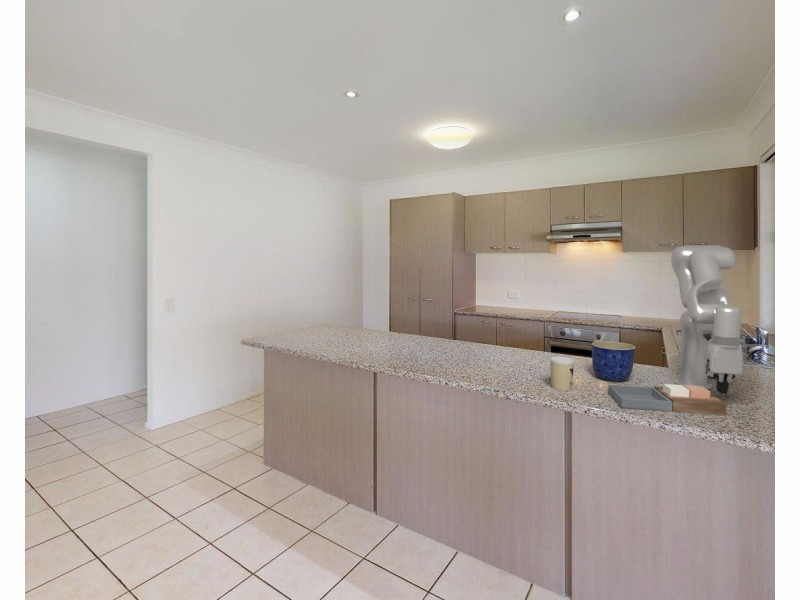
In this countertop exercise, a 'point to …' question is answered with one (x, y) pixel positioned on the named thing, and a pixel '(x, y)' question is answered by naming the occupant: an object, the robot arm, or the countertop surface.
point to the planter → (612, 360)
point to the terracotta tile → (698, 391)
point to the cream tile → (676, 390)
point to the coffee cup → (561, 372)
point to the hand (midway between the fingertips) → (722, 392)
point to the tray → (639, 398)
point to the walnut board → (695, 404)
